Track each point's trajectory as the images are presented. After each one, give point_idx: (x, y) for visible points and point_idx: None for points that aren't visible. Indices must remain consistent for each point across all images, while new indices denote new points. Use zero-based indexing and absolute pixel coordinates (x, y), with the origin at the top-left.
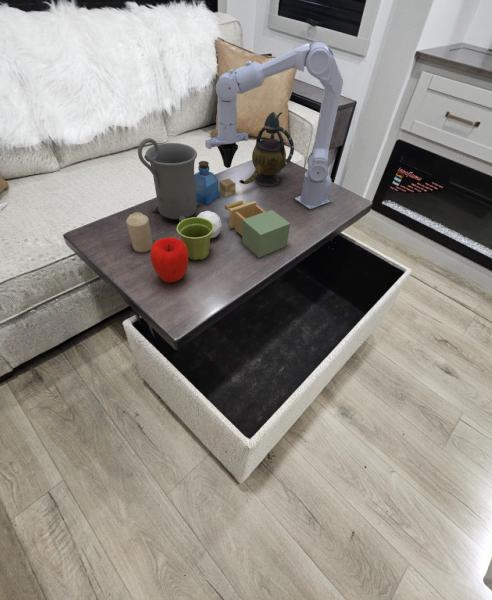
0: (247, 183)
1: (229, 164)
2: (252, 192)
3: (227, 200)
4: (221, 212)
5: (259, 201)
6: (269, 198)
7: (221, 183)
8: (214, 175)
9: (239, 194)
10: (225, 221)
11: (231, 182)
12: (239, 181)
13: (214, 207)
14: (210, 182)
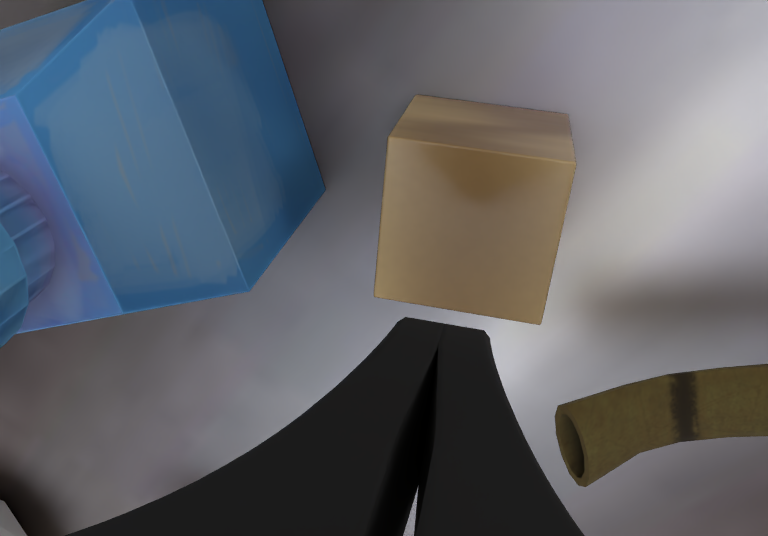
0: (651, 446)
1: (418, 493)
2: (734, 349)
3: (373, 293)
4: (203, 396)
5: (628, 495)
6: (760, 525)
7: (384, 198)
8: (167, 303)
9: (574, 287)
10: (167, 491)
11: (508, 282)
12: (559, 406)
13: (189, 304)
14: (89, 320)
